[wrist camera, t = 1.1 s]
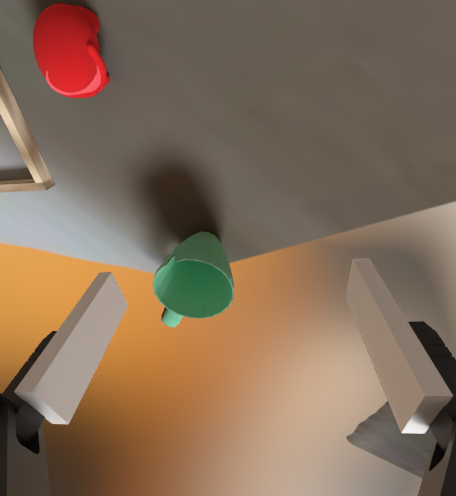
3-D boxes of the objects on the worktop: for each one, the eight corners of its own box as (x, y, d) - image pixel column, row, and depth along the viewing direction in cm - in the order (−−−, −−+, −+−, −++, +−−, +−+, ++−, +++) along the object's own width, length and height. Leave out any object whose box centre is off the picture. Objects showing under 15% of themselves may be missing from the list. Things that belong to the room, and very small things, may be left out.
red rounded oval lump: (107, 117, 27) (103, 62, 22) (38, 102, 25) (16, 37, 19) (112, 61, 29) (110, 1, 24) (50, 44, 27) (33, -27, 22)
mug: (188, 204, 36) (170, 244, 27) (249, 235, 38) (249, 281, 30) (153, 273, 43) (130, 321, 35) (205, 296, 45) (196, 346, 37)
